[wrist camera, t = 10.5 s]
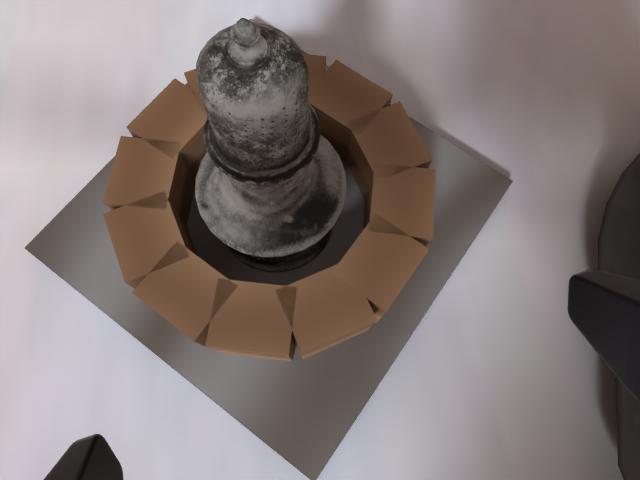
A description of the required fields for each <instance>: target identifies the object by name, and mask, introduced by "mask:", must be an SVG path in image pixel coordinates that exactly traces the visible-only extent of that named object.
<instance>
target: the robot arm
mask: <svg viewBox="0 0 640 480" xmlns="http://www.w3.org/2000/svg"><path fill="white" fill-rule="evenodd" d="M568 313H569V316H570V318H571V320H572V322H573V323H574V324H575V326H576V327H577V328H578V329H579V331H580V332H581V333H582V334H583V336H584V337H585V338H586V339H587V341H588V342H589V343H590V344H591V345H592V347H593V348H594V349H595V350H596V352H597V353H598V354H599V355H600V357H601V358H602V359H603V360H604V362H605V363H606V364H607V365H608V366H609V368H610V369H611V370H612V371H613V373H614V374H615V375H616V376H617V377H618V379H619V380H620V381H621V382H622V383H623V384H624V385H625V387H626V388H627V389H628V390H629V391H630V392H631V393H632V394H633V395H634V396H635V397H636V398H637V399H638V400H639V401H640V280H638V279H633V278H629V277H624V276H620V275H616V274H611V273H607V272H602V271H598V270H587V271H584V272H581V273H578V274H575V275H573V276H572V277H571V278H570V280H569V293H568ZM44 480H123V471H122V467H121V465H120V463H119V461H118V459H117V458H116V456H115V454H114V453H113V451H112V450H111V448H110V446H109V445H108V443H107V442H106V440H105V439H104V437H103V436H101V435H99V434H95V435H92V436H89V437H86V438H83V439H80V440H77V441H75V442H74V443H73V444H72V445H71V446H70V447H69V448H68V450H67V451H66V452H65V453H64V455H63V456H62V457H61V458H60V460H59V461H58V462H57V464H56V465H55V466H54V467H53V469H52V470H51V471H50V472H49V474H48V475H47V476H46V477H45V479H44Z"/></svg>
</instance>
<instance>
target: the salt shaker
mask: <svg viewBox="0 0 640 480" xmlns="http://www.w3.org/2000/svg"><path fill="white" fill-rule="evenodd" d="M196 84H197V87H198V90H199V94H200V97H201V99H202V102H203V105H204V108H205V110H206V113H207V119H206V122H205V125H204V143H205V147H206V150H207V153H206V154H205V156H204V157H203V159H202V160H201V163H200V166H199V169H198V172H197V175H196V184H195V197H196V201H197V205H198V209H199V212H200V215H201V217H202V218H203V220H204V221H205V223H206V225H207V226H208V228H209V230H210V231H211V232H212V233H213V234H214V235H215V236H216V237H218V238H219V239H220V240H221V241H222V242H223V243H224V244H226V245H227V247H228V248H229V250H230V252H231V253H232V254H233V255H234V256H236V257H237V258H238V259H239V260H240V261H241V262H242V263H244V264H246V265H248V266H250V267H252V268H254V269H257V270H262V271H267V272H287V271H290V270H293V269H296V268H299V267H302V266H304V265H305V264H307V263H308V262H310V261H312V260H313V259H315V257H316V256H317V255H318V254H319V253H320V252H321V251H322V250H323V249H324V248H325V246H326V244H327V242H328V240H329V238H330V236H331V234H332V229H333V226H334V225H335V223H336V221H337V219H338V217H339V215H340V213H341V212H342V210H343V206H344V201H345V196H346V191H347V186H346V174H345V170H344V167H343V165H342V162H341V159H340V157H339V155H338V153H337V152H336V151H335V149H334V148H333V147H332V145H331V144H330V142H329V141H328V140H327V139H325V138H324V137H323V136H322V135H320V123H319V120H318V117H317V115H316V112H315V110H314V109H313V108H312V106H311V105H310V104H309V102H308V87H309V79H308V67H307V64H306V61H305V58H304V56H303V53H302V51H301V49H300V47H299V46H298V45H297V44H296V42H295V41H294V40H293V39H292V38H290V37H289V36H288V35H286V34H285V33H284V32H282V31H280V30H278V29H276V28H274V27H271V26H269V25H265V24H260V23H253V22H251V21H250V20H247V19H245V18H242V19H240V20H239V21H237V23H236V24H234V25H232V26H230V27H227V28H225V29H223V30H221V31H220V32H218V33H217V34H216V35H215V36H213V37H212V38H211V39H210V40H209V41H208V42H207V44H206V45H205V46H204V48H203V49H202V50H201V52H200V54H199V57H198V60H197V63H196Z"/></svg>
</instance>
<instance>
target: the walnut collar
mask: <svg viewBox="0 0 640 480" xmlns="http://www.w3.org/2000/svg"><path fill="white" fill-rule="evenodd" d="M250 21H251V22H253V23H257V22H255V21H254V20H252V19H250ZM301 51H302V50H301ZM302 53H303V56H304V58H305V61H306V64H307V67H308V79H309V87H308V102H309V104H310V105H311V106H312V108H313V109H314V110H315V112H316V115H317V117H318V120H319V123H320V135H322V136H323V137H324V138H325V139H327V140H328V141H329V142H330V144H331V145H332V147H333V148H334V149H335V151H336V152H337V153H338V155H339V157H340V159H341V162H342V165H343V167H344V170H345V174H346V186H347V191H346V196H345V201H344V206H343V210H342V212H341V213H340V215H339V217H338V219H337V221H336V223H335V225H334V226H333V229H332V234H331V236H330V238H329V240H328V242H327V244H326V246H325V248H324V249H323V250H322V251H321V252H320V253H319V254H318V255H317V256H316V257H315V259H313V260H312V261H310V262H308V263H307V264H305V265H304V266H302V267H299V268H296V269H293V270H290V271H287V272H267V271H262V270H257V269H254V268H252V267H250V266H248V265H246V264H244V263H242V262H241V261H240V260H239V259H238V258H237V257H236V256H234V255H233V254H232V253H231V252H230V250H229V248H228V247H227V245H226V244H224V243H223V242H222V241H221V240H220V239H219V238H218V237H216V236H215V235H214V234H213V233H212V232H211V231H210V230H209V228H208V226H207V225H206V223H205V221H204V220H203V218H202V217H201V215H200V212H199V209H198V205H197V201H196V197H195V184H196V175H197V172H198V169H199V166H200V163H201V160H202V159H203V157H204V156H205V154H206V153H207V150H206V147H205V143H204V125H205V122H206V119H207V113H206V110H205V108H204V105H203V102H202V99H201V97H200V94H199V90H198V87H197V84H196V69H194V70H191V71H188V72H185V73H184V74H185V77H186V79H187V82H188V83H187V84H186V85H184V84H182V83H181V82H179V81H178V80H177V79H174V80H173V81H172V82H171V83H170V84H169V85H168V86H167V87H166V88H165V89H164V90H163V91H162V92H161V93H160V94H159V95H158V96H157V97H156V98H155V99H154V100H153V101H152V102H151V103H150V104H149V105H148V106H147V107H146V108H145V109H144V110H143V111H142V112H141V113H140V114H139V115H138V116H137V117H136V118H135V119H134V120H133V121H132V122H131V123H130V124H129V125H128V126H127V128H128V130H129V131H130V133H131V134H132V136H133V137H125V136H121V138H120V142H119V145H118V149H117V153H116V156H115V157H114V158H113V159H112V160H111V161H110V162H109V163H108V164H107V165H106V166H105V167H104V168H103V169H102V170H101V171H100V172H99V173H98V174H97V175H96V176H95V177H94V178H93V179H92V180H91V181H90V182H89V183H88V184H87V185H86V186H85V187H84V188H83V189H82V190H81V191H80V192H79V193H78V194H77V195H76V196H75V197H74V198H73V199H72V200H71V201H70V202H69V203H68V204H67V205H66V206H65V207H64V208H63V209H62V210H61V211H60V212H59V213H58V214H57V215H56V216H55V217H54V218H53V220H52V221H51V222H50V223H49V224H48V225H47V226H46V227H45V228H44V229H43V230H42V231H41V232H40V233H39V234H38V235H37V236H36V237H35V238H34V239H33V240H32V241H31V242H30V243H29V244H28V245H27V246H26V247H25V249H26V250H28V251H29V252H30V253H31V254H32V255H34V256H35V257H36V258H37V259H39V260H40V261H41V262H42V263H44V264H45V265H46V266H47V267H49V268H50V269H51V270H52V271H53V272H55V273H56V274H57V275H58V276H60V277H61V278H62V279H63V280H65V281H66V282H67V283H68V284H70V285H71V286H72V287H73V288H74V289H76V290H77V291H78V292H79V293H81V294H82V295H83V296H84V297H86V298H87V299H88V300H89V301H91V302H92V303H93V304H94V305H95V306H97V307H98V308H99V309H100V310H102V311H103V312H104V313H105V314H107V315H108V316H109V317H110V318H111V319H113V320H114V321H115V322H116V323H118V324H119V325H120V326H121V327H123V328H124V329H125V330H126V331H128V332H129V333H130V334H131V335H132V336H134V337H135V338H136V339H137V340H139V341H140V342H141V343H142V344H144V345H145V346H146V347H147V348H149V349H150V350H151V351H152V352H153V353H155V354H156V355H157V356H158V357H160V358H161V359H162V360H163V361H165V362H166V363H167V364H168V365H170V366H171V367H172V368H173V369H174V370H176V371H177V372H178V373H179V374H181V375H182V376H183V377H184V378H186V379H187V380H188V381H189V382H190V383H192V384H193V385H194V386H195V387H197V388H198V389H199V390H200V391H202V392H203V393H204V394H205V395H207V396H208V397H209V398H210V399H211V400H213V401H214V402H215V403H216V404H218V405H219V406H220V407H221V408H223V409H224V410H225V411H226V412H228V413H229V414H230V415H231V416H232V417H234V418H235V419H236V420H237V421H239V422H240V423H241V424H242V425H244V426H245V427H246V428H247V429H249V430H250V431H251V432H252V433H253V434H255V435H256V436H257V437H258V438H260V439H261V440H262V441H263V442H265V443H266V444H267V445H268V446H270V447H271V448H272V449H273V450H274V451H276V452H277V453H278V454H279V455H281V456H282V457H283V458H284V459H286V460H287V461H288V462H289V463H290V464H292V465H293V466H294V467H295V468H297V469H298V470H299V471H300V472H302V473H303V474H304V475H305V476H307V477H308V478H309V479H310V480H316V479H317V478H318V476H319V474H320V473H321V471H322V470H323V468H324V467H325V465H326V464H327V462H328V461H329V459H330V458H331V456H332V455H333V453H334V452H335V450H336V449H337V447H338V446H339V444H340V443H341V441H342V440H343V438H344V437H345V435H346V433H347V432H348V430H349V429H350V427H351V426H352V424H353V423H354V421H355V420H356V418H357V417H358V415H359V414H360V412H361V411H362V409H363V408H364V406H365V405H366V403H367V402H368V400H369V399H370V397H371V396H372V394H373V393H374V391H375V389H376V388H377V386H378V385H379V383H380V382H381V380H382V379H383V377H384V376H385V374H386V373H387V371H388V370H389V368H390V367H391V365H392V364H393V362H394V361H395V359H396V358H397V356H398V355H399V353H400V352H401V350H402V349H403V347H404V345H405V344H406V342H407V341H408V339H409V338H410V336H411V335H412V333H413V332H414V330H415V329H416V327H417V326H418V324H419V323H420V321H421V320H422V318H423V317H424V315H425V314H426V312H427V311H428V309H429V308H430V306H431V305H432V303H433V301H434V300H435V298H436V297H437V295H438V294H439V292H440V291H441V289H442V288H443V286H444V285H445V283H446V282H447V280H448V279H449V277H450V276H451V274H452V273H453V271H454V270H455V268H456V267H457V265H458V264H459V262H460V261H461V259H462V257H463V256H464V254H465V253H466V251H467V250H468V248H469V247H470V245H471V244H472V242H473V241H474V239H475V238H476V236H477V235H478V233H479V232H480V230H481V229H482V227H483V226H484V224H485V223H486V221H487V220H488V218H489V217H490V215H491V213H492V212H493V210H494V209H495V207H496V206H497V204H498V203H499V201H500V200H501V198H502V197H503V195H504V194H505V192H506V191H507V189H508V188H509V186H510V185H511V183H512V182H513V181H512V180H510V179H509V178H507V177H505V176H504V175H502V174H501V173H499V172H497V171H496V170H494V169H493V168H491V167H489V166H488V165H486V164H484V163H483V162H481V161H480V160H478V159H476V158H475V157H473V156H472V155H470V154H468V153H467V152H465V151H463V150H462V149H460V148H459V147H457V146H455V145H454V144H452V143H451V142H449V141H447V140H446V139H444V138H443V137H441V136H439V135H438V134H436V133H434V132H433V131H431V130H430V129H428V128H426V127H425V126H423V125H422V124H420V123H418V122H417V121H415V120H413V119H412V118H410V117H409V116H408V115H407V114H406V112H405V110H404V108H403V107H402V105H401V103H400V102H398V103H395V104H393V105H390V102H391V98H392V95H393V94H391V93H389V92H388V91H386V90H384V89H383V88H381V87H380V86H378V85H376V84H375V83H373V82H371V81H370V80H368V79H366V78H365V77H363V76H362V75H360V74H358V73H357V72H355V71H353V70H352V69H350V68H349V67H347V66H345V65H344V64H342V63H340V62H339V61H337V60H335V62H334V63H333V64H332V65H331V66H330V67H328V66H326V56H316V55H309V54H307V53H305V52H304V51H302Z"/></svg>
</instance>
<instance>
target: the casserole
mask: <svg viewBox="0 0 640 480" xmlns="http://www.w3.org/2000/svg"><path fill="white" fill-rule="evenodd" d="M598 271H602V272H607V273H611V274H616V275H620V276H624V277H629V278H633V279H638V280H640V154H639V155H638V156H637V157H636V158H635V159H634V161H633V162H632V163H631V164H630V165H629V166H628V167H627V169H626V170H625V171H624V172H623V173H622V175H621V177H620V179H619V181H618V183H617V185H616V187H615V189H614V191H613V192H612V194H611V196H610V198H609V200H608V202H607V204H606V209H605V213H604V217H603V221H602V226H601V230H600V234H599V238H598ZM616 406H617V443H618V466H619V469H620V471H621V473H622V476H623V478H624V480H640V401H639V400H638V399H637V398H636V397H635V396H634V395H633V394H632V393H631V392H630V391H629V390H628V389H627V388H626V387H625V385H624V384H623V383H622V382H621V381H620V380H619V379H618V377H617V376H616Z"/></svg>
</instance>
